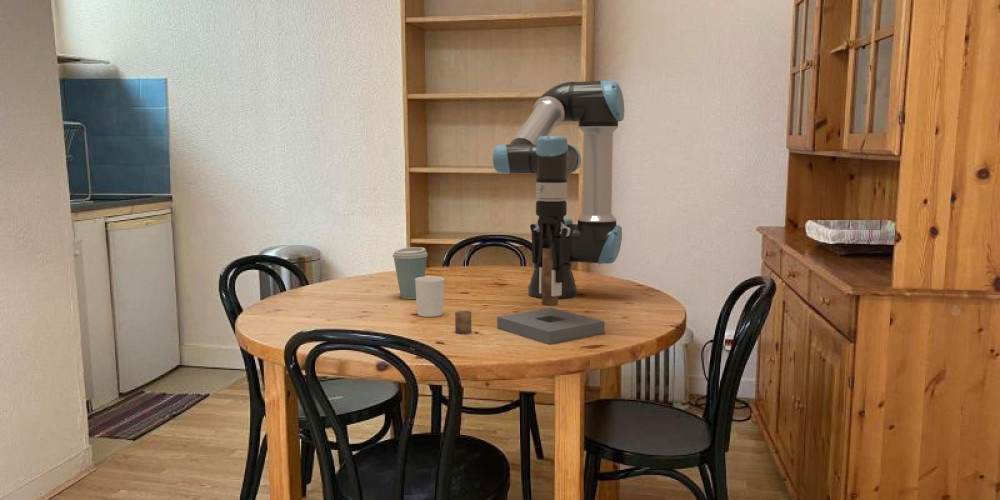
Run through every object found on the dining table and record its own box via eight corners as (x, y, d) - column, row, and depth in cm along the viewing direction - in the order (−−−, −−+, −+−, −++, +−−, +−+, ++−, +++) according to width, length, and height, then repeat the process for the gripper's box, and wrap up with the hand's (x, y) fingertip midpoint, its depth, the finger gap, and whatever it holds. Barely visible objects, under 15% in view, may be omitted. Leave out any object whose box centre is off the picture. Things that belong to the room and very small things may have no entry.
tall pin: (538, 303, 191) (539, 248, 189) (550, 302, 193) (551, 246, 192) (549, 306, 188) (549, 249, 186) (561, 304, 190) (562, 248, 188)
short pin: (452, 331, 191) (452, 312, 190) (465, 329, 193) (465, 309, 193) (461, 334, 188) (461, 314, 187) (474, 332, 190) (474, 312, 189)
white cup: (422, 318, 205) (421, 282, 204) (411, 313, 212) (410, 277, 211) (449, 315, 209) (448, 279, 207) (437, 310, 216) (437, 275, 214)
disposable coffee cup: (413, 302, 227) (413, 252, 225) (385, 298, 232) (384, 249, 230) (435, 296, 236) (434, 248, 234) (407, 292, 241) (407, 245, 239)
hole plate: (497, 328, 194) (497, 316, 194) (551, 318, 205) (551, 307, 205) (548, 344, 178) (548, 331, 178) (604, 333, 189) (604, 321, 189)
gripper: (517, 198, 192) (517, 290, 195) (563, 202, 178) (561, 301, 181) (540, 197, 196) (539, 287, 199) (586, 201, 183) (585, 297, 186)
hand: (550, 293), depth 190 cm, fingers closed on tall pin, 4 cm apart
